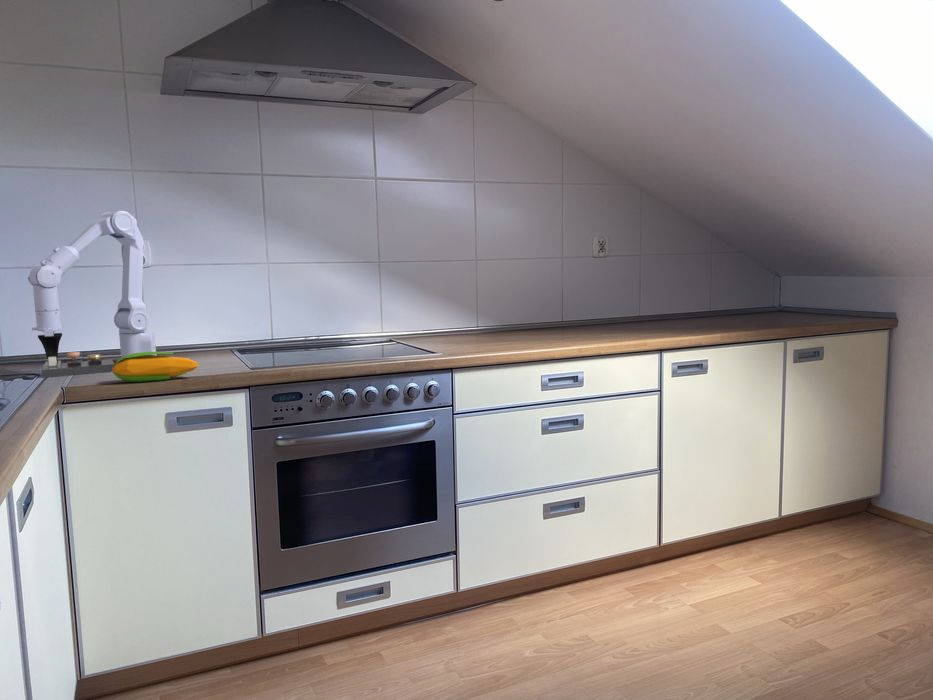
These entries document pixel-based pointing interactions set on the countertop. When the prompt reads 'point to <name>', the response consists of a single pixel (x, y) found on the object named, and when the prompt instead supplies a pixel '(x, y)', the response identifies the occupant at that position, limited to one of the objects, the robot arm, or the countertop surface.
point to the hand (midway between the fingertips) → (52, 360)
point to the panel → (77, 368)
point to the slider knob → (52, 361)
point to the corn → (151, 367)
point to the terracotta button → (73, 355)
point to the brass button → (94, 357)
